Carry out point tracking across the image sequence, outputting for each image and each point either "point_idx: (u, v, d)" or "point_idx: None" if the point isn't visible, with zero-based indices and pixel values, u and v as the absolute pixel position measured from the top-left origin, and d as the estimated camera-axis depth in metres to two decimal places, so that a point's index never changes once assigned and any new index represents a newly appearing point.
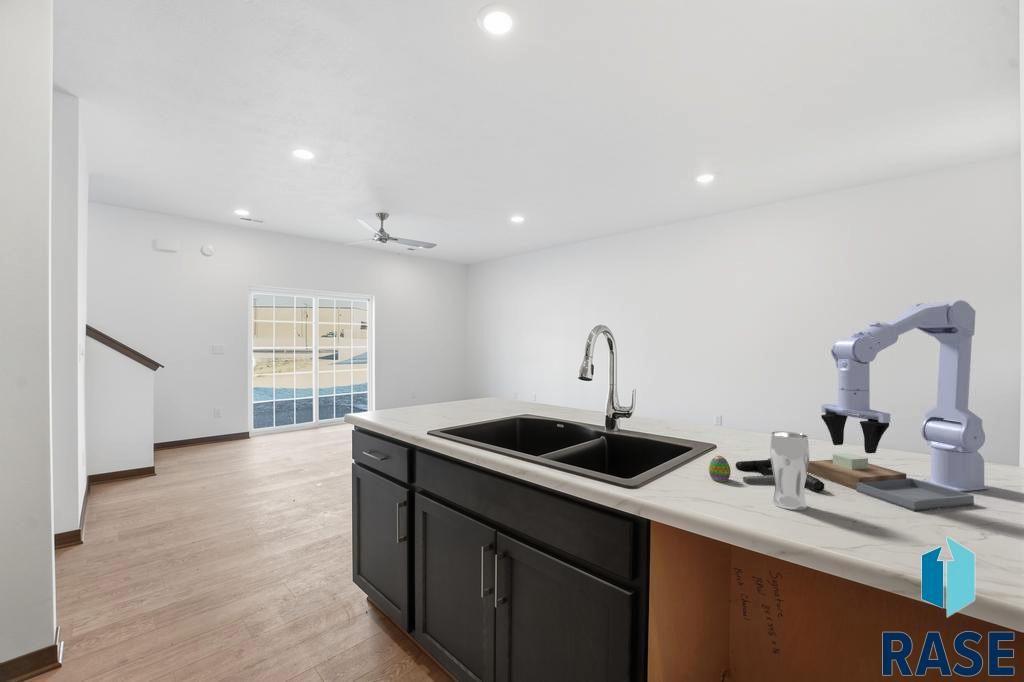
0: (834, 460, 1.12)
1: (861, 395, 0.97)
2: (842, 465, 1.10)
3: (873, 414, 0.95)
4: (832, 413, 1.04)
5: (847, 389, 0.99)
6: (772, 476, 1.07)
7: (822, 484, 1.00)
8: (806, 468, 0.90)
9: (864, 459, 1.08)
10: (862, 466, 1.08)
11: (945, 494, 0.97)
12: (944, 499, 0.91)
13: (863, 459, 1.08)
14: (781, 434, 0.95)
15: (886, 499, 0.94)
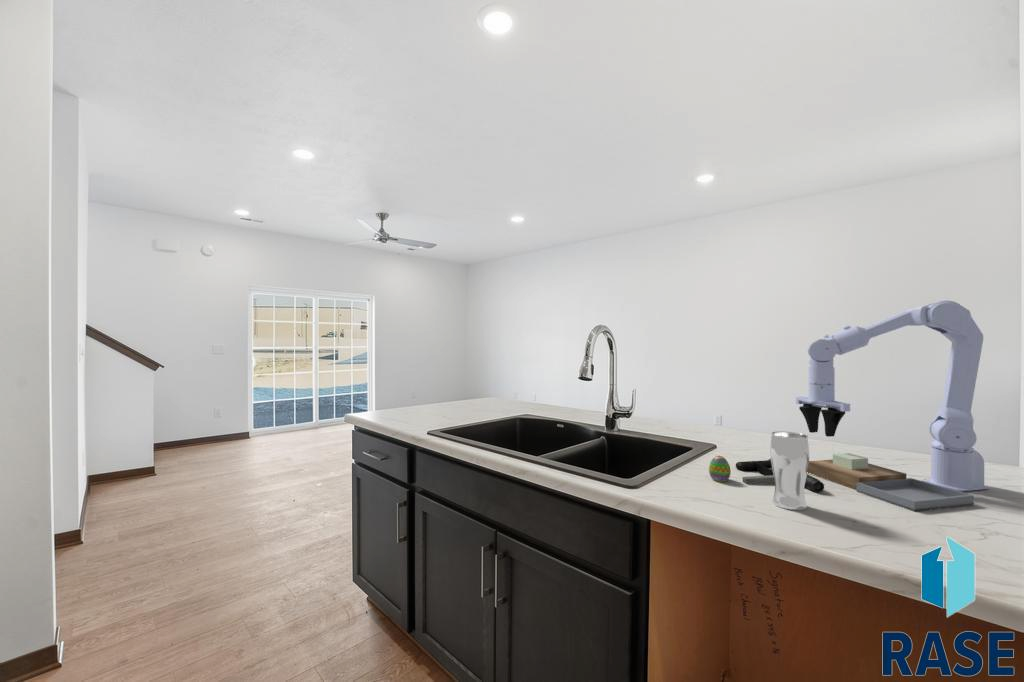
0: (834, 460, 1.12)
1: (827, 389, 1.16)
2: (842, 465, 1.10)
3: (836, 404, 1.13)
4: (804, 404, 1.22)
5: (815, 383, 1.17)
6: (772, 476, 1.07)
7: (822, 484, 1.00)
8: (806, 468, 0.90)
9: (864, 459, 1.08)
10: (862, 466, 1.08)
11: (945, 494, 0.97)
12: (944, 499, 0.91)
13: (863, 459, 1.08)
14: (781, 434, 0.95)
15: (886, 499, 0.94)
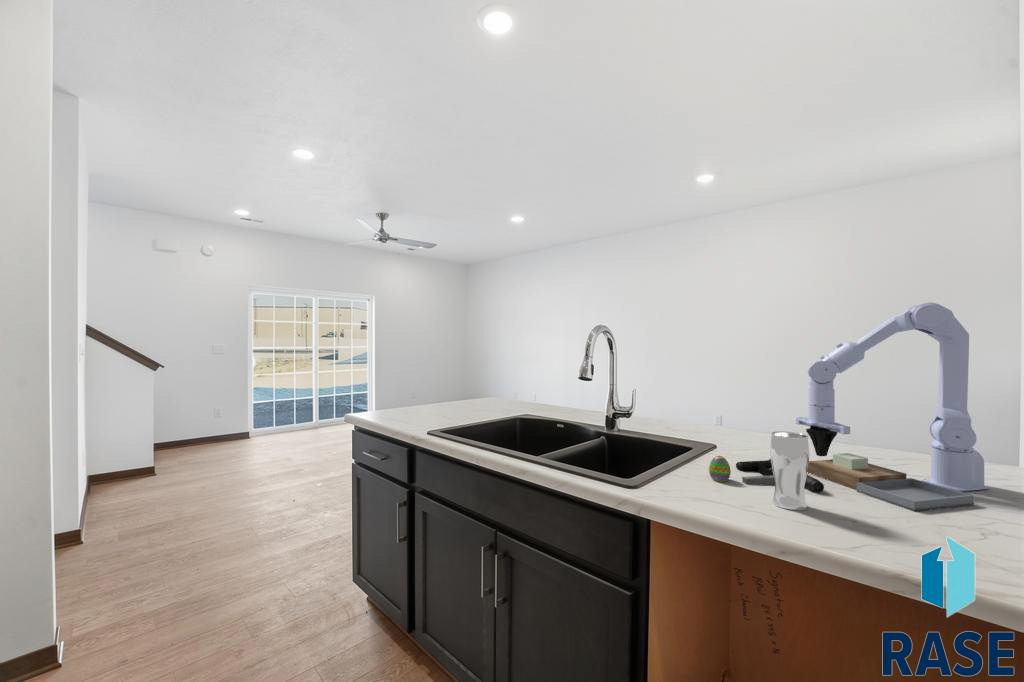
0: (834, 460, 1.12)
1: (827, 410, 1.16)
2: (842, 465, 1.10)
3: (836, 427, 1.13)
4: None
5: (815, 405, 1.17)
6: (771, 476, 1.06)
7: (821, 485, 1.00)
8: (806, 468, 0.90)
9: (864, 459, 1.08)
10: (862, 466, 1.08)
11: (945, 494, 0.97)
12: (944, 499, 0.91)
13: (863, 459, 1.08)
14: (781, 434, 0.95)
15: (886, 499, 0.94)
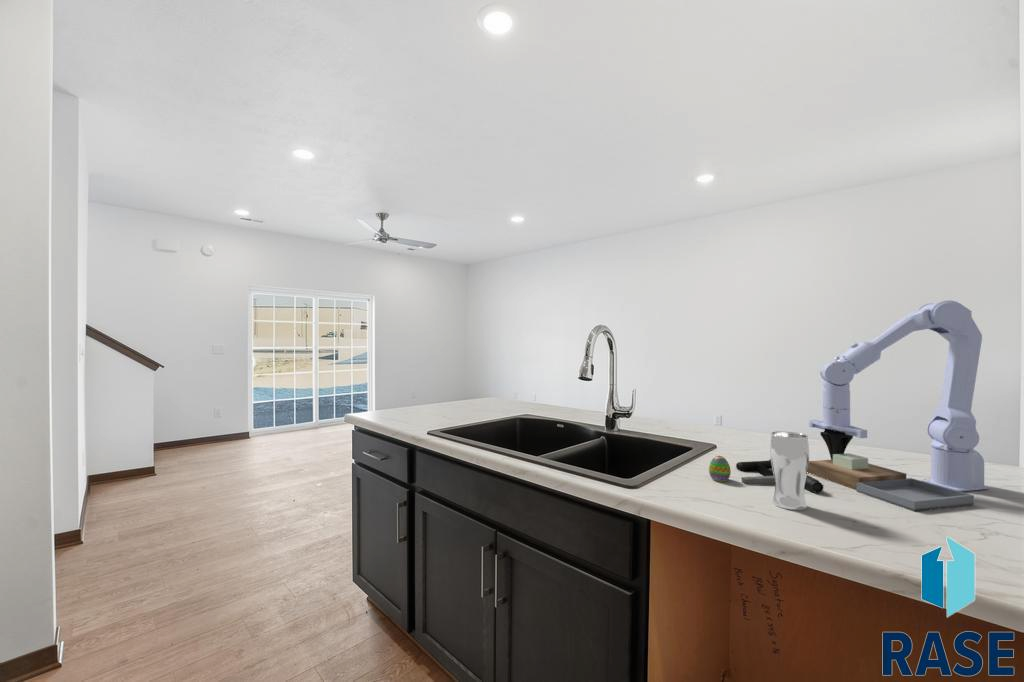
0: (834, 460, 1.12)
1: (843, 413, 1.11)
2: (842, 465, 1.10)
3: (852, 430, 1.08)
4: None
5: (830, 408, 1.13)
6: (771, 477, 1.06)
7: (821, 485, 0.99)
8: (806, 468, 0.90)
9: (864, 459, 1.08)
10: (862, 466, 1.08)
11: (945, 494, 0.97)
12: (944, 499, 0.91)
13: (863, 459, 1.08)
14: (781, 434, 0.95)
15: (886, 499, 0.94)
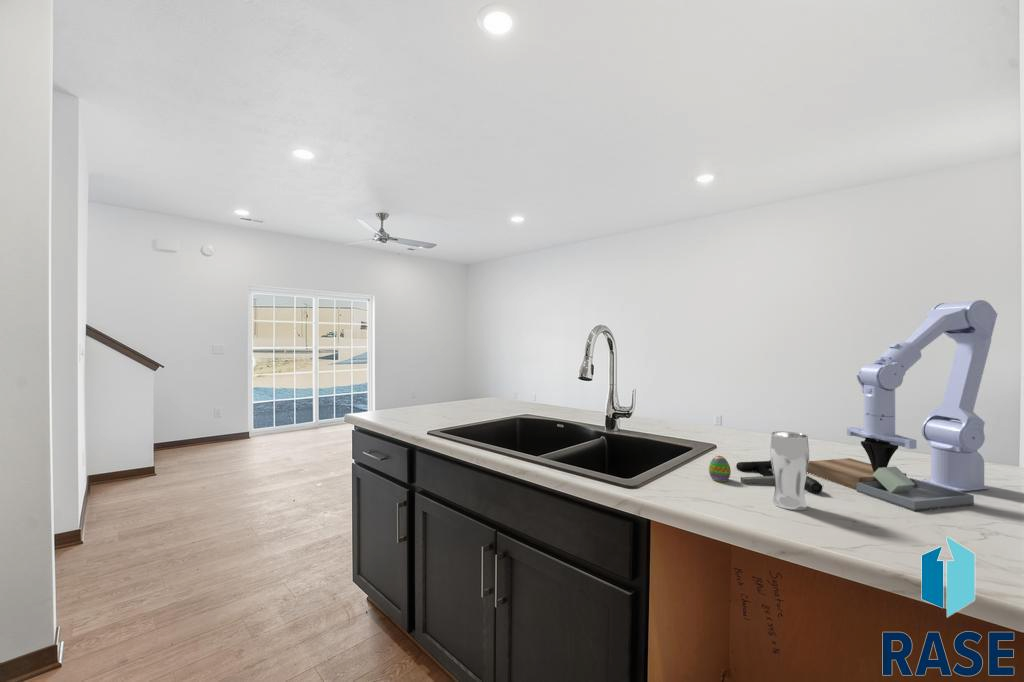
0: (876, 473, 1.02)
1: (887, 421, 1.01)
2: (882, 483, 1.00)
3: (899, 440, 0.98)
4: None
5: (873, 415, 1.02)
6: (770, 477, 1.06)
7: (820, 486, 0.99)
8: (806, 468, 0.90)
9: (910, 485, 0.98)
10: (903, 490, 0.99)
11: (945, 494, 0.97)
12: (944, 499, 0.91)
13: (909, 485, 0.98)
14: (781, 434, 0.95)
15: (886, 499, 0.94)
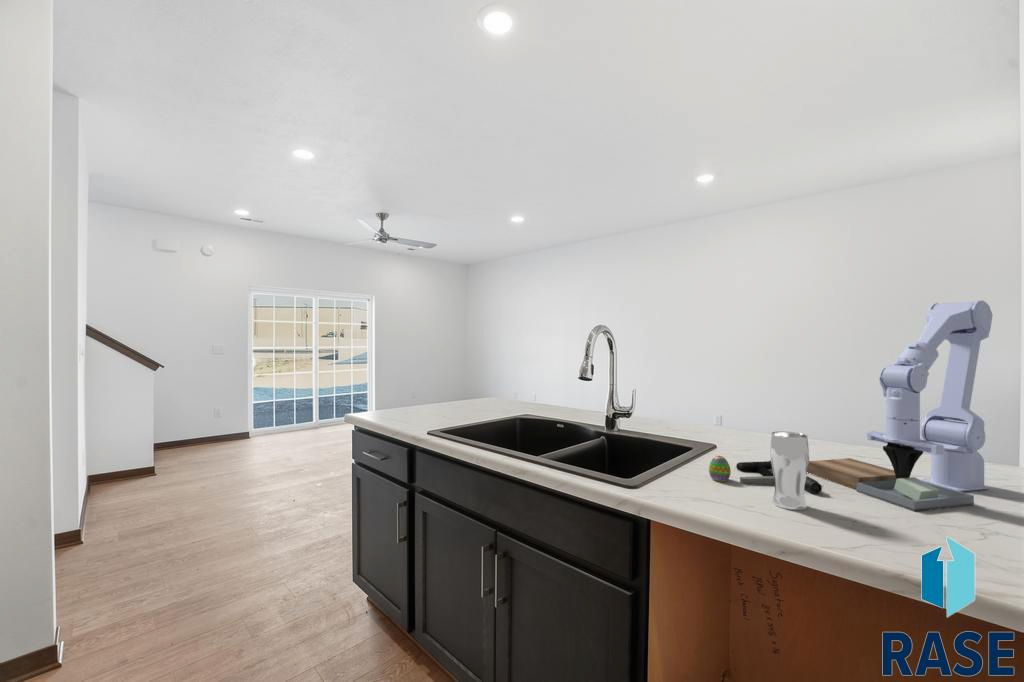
0: (897, 485, 0.97)
1: (912, 425, 0.96)
2: (906, 494, 0.95)
3: (925, 445, 0.93)
4: (879, 441, 1.03)
5: (897, 418, 0.97)
6: (770, 477, 1.06)
7: (819, 486, 0.99)
8: (806, 468, 0.90)
9: (935, 491, 0.93)
10: (930, 498, 0.94)
11: (945, 494, 0.97)
12: (944, 499, 0.91)
13: (934, 491, 0.93)
14: (781, 434, 0.95)
15: (886, 499, 0.94)
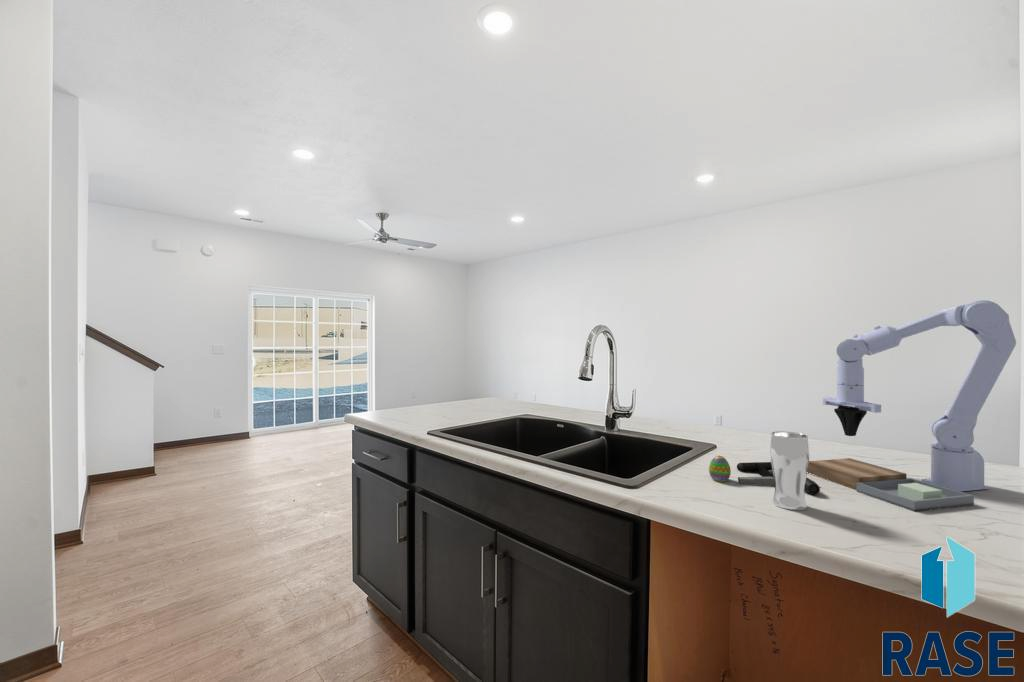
0: (900, 491, 0.96)
1: (857, 389, 1.14)
2: (910, 498, 0.94)
3: (866, 405, 1.11)
4: (832, 405, 1.21)
5: (844, 384, 1.15)
6: (768, 477, 1.06)
7: (817, 487, 0.98)
8: (806, 468, 0.90)
9: (937, 491, 0.93)
10: None
11: (945, 494, 0.97)
12: (944, 499, 0.91)
13: (936, 491, 0.93)
14: (781, 434, 0.95)
15: (886, 499, 0.94)
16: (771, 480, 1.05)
